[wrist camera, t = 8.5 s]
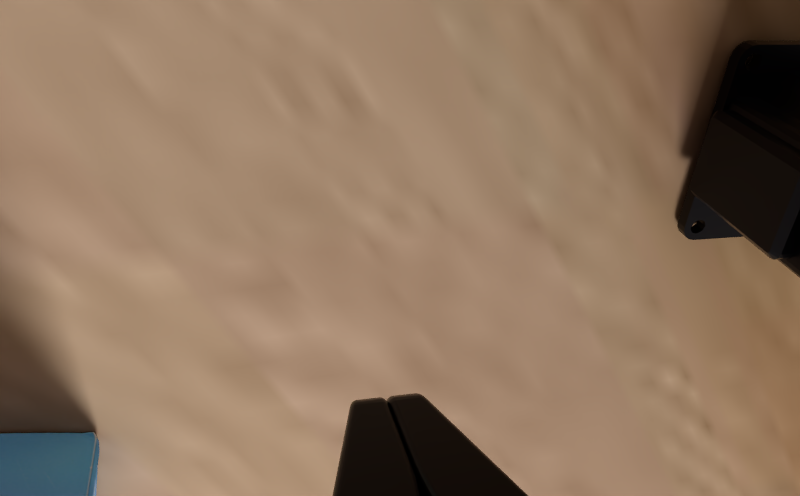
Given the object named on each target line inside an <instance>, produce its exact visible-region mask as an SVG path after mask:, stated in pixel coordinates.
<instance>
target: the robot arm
mask: <svg viewBox="0 0 800 496" xmlns="http://www.w3.org/2000/svg"><path fill="white" fill-rule="evenodd" d="M752 54H753V56H752V59H751V61H750V62H749V63H748V64H747V65H745V63H746V60H747V59H748V57H749V56H750V55H752ZM696 221H697V223H696V224H695V225H694V226H692V225H693V224H694V223H695V222H696ZM678 229H679V231H680V232H681V233H682V234H683V235H684V236H686V237H687V238H688V239H692V240H697V239H712V238H727V237H742V236H744V237H745V238H746V239H748V240H749V241H750V242H751V243H752V244H754V245H755V246H756V247H757V248H758V249H760V250H761V251H762V252H763V253H765V254H766V255H767V256H768V257H769V258H771V259H778V260H779V261H780V262H781V263H782V264H784V265H785V266H786V267H787V268H789V269H790V270H791V271H792V272H794V273H795V274H796V275H797V276H798V277H800V41H746V42H743V43H741V44H740V45H738V46H737V47H736V48H735V50H734V51H733V52H732V54H731V56H730V59H729V62H728V65H727V68H726V72H725V75H724V78H723V81H722V84H721V87H720V91H719V94H718V97H717V100H716V103H715V106H714V110H713V113H712V116H711V119H710V122H709V125H708V128H707V132H706V135H705V138H704V141H703V144H702V147H701V151H700V154H699V157H698V160H697V163H696V166H695V170H694V173H693V176H692V179H691V182H690V185H689V189H688V192H687V195H686V198H685V201H684V204H683V208H682V211H681V214H680V217H679V220H678ZM333 496H528V495H527V494H526V493H525V492H524V491H523V490H522V489H520V488H519V487H518V486H517V485H516V484H515V483H514V482H513V481H512V480H511V479H510V478H509V477H508V476H507V475H506V474H505V473H504V472H503V471H502V470H501V469H500V468H498V467H497V466H496V465H495V464H494V463H493V462H492V461H491V460H490V459H489V458H488V457H487V456H486V455H485V454H484V453H483V452H482V451H481V450H480V449H479V448H478V447H477V446H475V445H474V444H473V443H472V442H471V441H470V440H469V439H468V438H467V437H466V436H465V435H464V434H463V433H462V432H461V431H460V430H459V429H458V428H457V427H456V426H455V425H453V424H452V423H451V422H450V421H449V420H448V419H447V418H446V417H445V416H444V415H443V414H442V413H441V412H440V411H439V410H438V409H437V408H436V407H435V406H434V405H433V404H431V403H430V402H429V401H428V400H427V399H426V398H425V397H424V396H422V395H420V394H417V393H415V394H406V395H397V396H391V397H389V398H388V399H387V401H386V400H385V399H384V398H380V397H379V398H371V399H362V400H355V401H353V402H352V404H351V406H350V410H349V415H348V420H347V425H346V430H345V436H344V441H343V446H342V451H341V456H340V461H339V466H338V471H337V476H336V481H335V486H334V491H333Z"/></svg>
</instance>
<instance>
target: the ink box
mask: <svg viewBox="0 0 800 496" xmlns="http://www.w3.org/2000/svg"><path fill="white" fill-rule="evenodd" d="M98 458H99V441H98V438H97V437H96V434H95V433H94V432H87V433H1V434H0V496H96V484H97V465H98Z"/></svg>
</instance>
